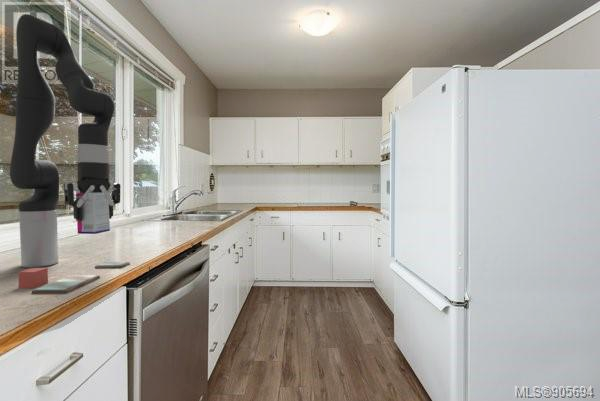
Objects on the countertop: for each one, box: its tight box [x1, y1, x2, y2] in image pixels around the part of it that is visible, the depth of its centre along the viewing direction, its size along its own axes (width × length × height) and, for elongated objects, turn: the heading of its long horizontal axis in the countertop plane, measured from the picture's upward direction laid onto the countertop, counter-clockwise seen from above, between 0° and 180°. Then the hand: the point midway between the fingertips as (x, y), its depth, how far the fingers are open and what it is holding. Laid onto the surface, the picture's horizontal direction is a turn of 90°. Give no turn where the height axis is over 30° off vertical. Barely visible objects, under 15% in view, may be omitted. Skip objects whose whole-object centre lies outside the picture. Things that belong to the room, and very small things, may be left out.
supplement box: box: [75, 192, 111, 235], centre depth 91 cm, size 6×6×12 cm
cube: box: [17, 267, 49, 289], centre depth 80 cm, size 4×4×4 cm
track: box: [31, 261, 131, 294], centre depth 88 cm, size 28×8×1 cm, turn 0°
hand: (94, 219), depth 91 cm, fingers closed on supplement box, 7 cm apart
